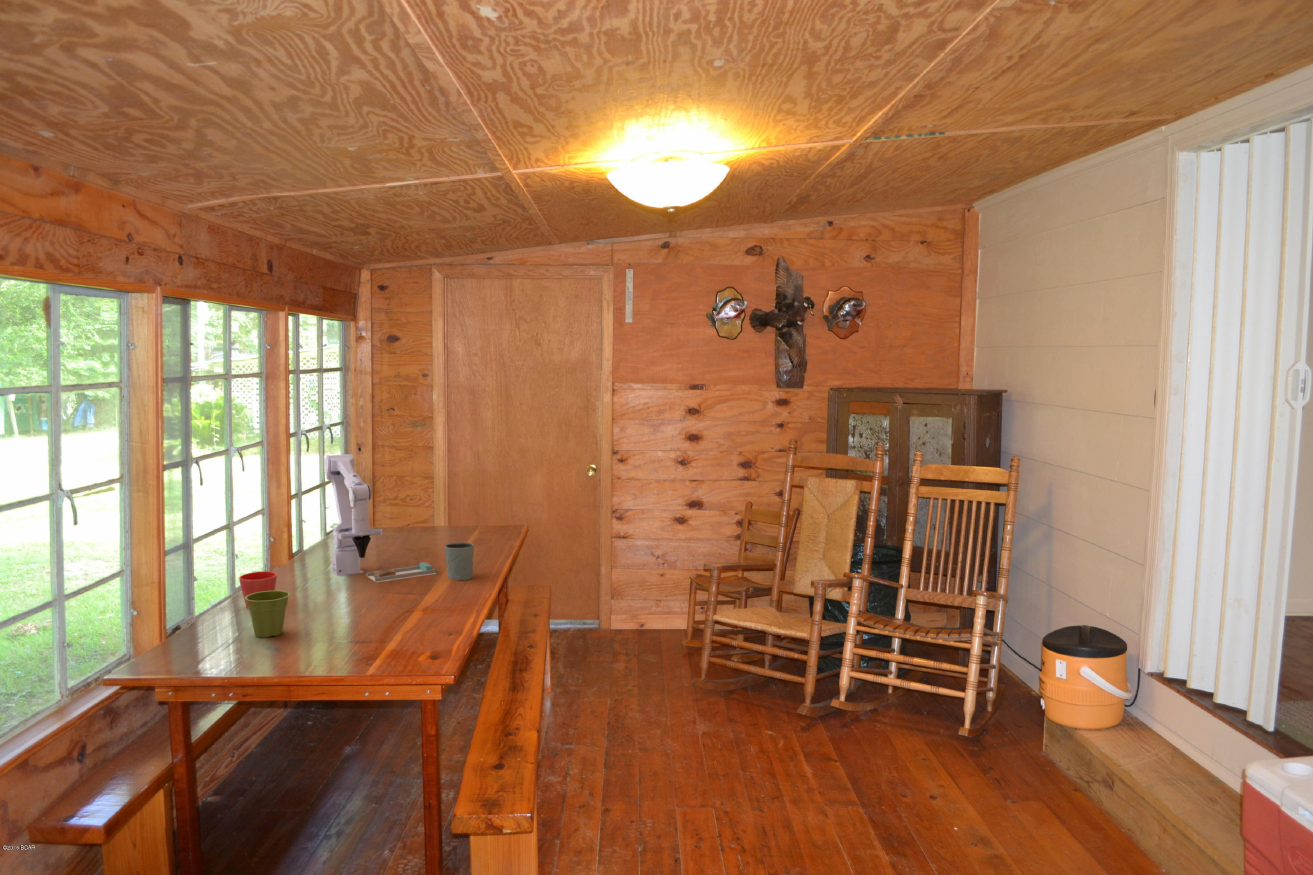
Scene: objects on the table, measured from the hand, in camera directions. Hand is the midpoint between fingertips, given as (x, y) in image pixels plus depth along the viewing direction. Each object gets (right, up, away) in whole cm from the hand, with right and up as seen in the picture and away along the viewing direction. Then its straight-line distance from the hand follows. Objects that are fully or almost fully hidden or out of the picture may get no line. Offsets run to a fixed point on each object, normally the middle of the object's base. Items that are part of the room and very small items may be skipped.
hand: (361, 557), depth 308 cm
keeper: (+6, -8, +5) cm, 11 cm away
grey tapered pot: (+33, -8, +6) cm, 35 cm away
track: (+11, -8, +9) cm, 16 cm away
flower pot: (-23, -12, -29) cm, 39 cm away
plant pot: (-7, -14, -58) cm, 60 cm away
